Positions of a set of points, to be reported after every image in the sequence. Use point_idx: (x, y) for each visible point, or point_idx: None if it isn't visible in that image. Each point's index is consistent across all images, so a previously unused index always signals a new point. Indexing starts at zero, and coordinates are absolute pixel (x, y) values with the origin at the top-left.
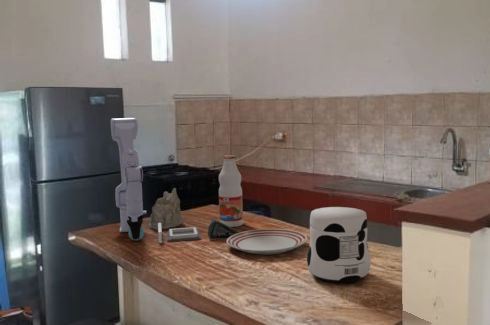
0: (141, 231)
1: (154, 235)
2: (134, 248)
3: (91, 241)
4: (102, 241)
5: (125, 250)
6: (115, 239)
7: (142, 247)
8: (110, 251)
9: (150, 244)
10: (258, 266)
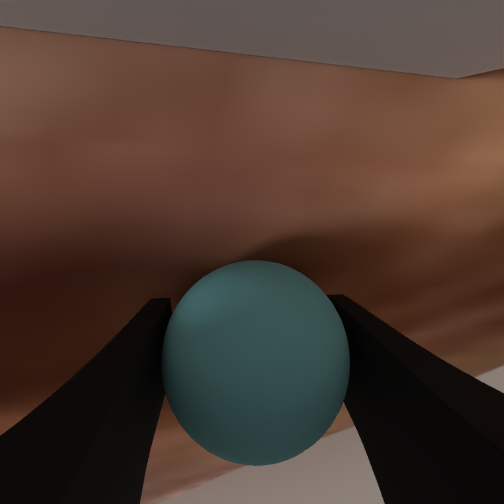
0: (329, 316)
1: (68, 104)
2: (455, 297)
3: (185, 489)
4: (200, 456)
5: (457, 340)
6: (171, 415)
7: (472, 245)
8: None
9: (436, 177)
10: None
